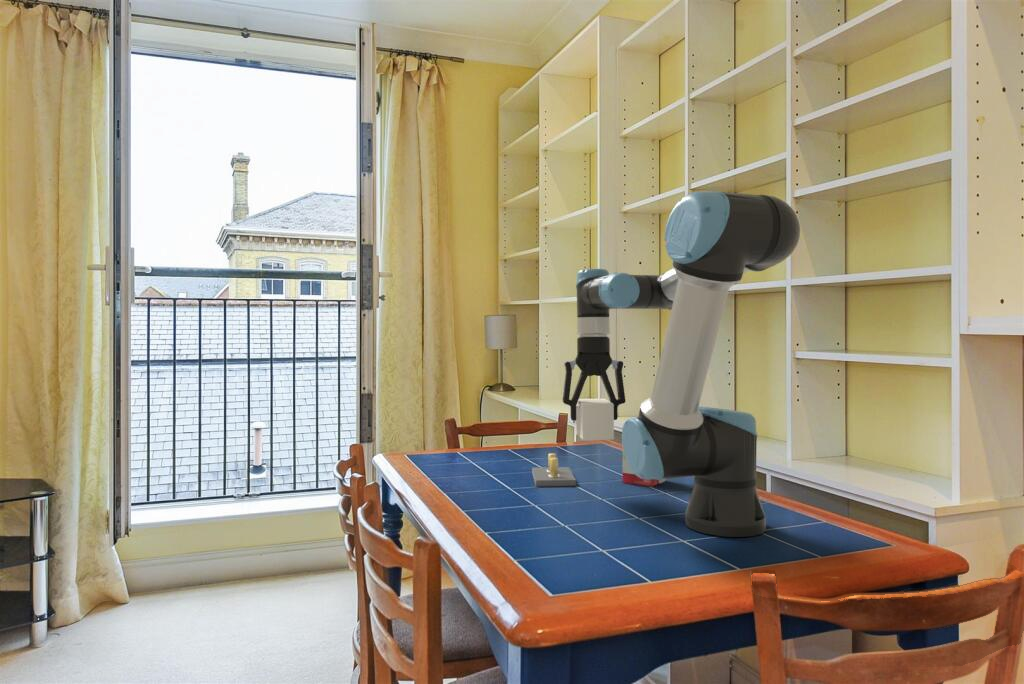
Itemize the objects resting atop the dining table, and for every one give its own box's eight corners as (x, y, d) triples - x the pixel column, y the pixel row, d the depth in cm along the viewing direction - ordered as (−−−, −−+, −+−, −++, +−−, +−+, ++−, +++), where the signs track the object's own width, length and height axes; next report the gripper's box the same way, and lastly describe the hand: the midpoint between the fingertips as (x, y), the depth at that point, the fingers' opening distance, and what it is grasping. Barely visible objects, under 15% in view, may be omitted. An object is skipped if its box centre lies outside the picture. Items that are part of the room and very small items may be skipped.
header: (576, 486, 169) (575, 461, 169) (535, 486, 169) (535, 462, 168) (568, 472, 185) (568, 450, 185) (532, 473, 185) (532, 451, 184)
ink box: (652, 487, 167) (652, 439, 167) (621, 482, 172) (621, 436, 172) (667, 481, 174) (667, 434, 174) (636, 476, 179) (636, 432, 179)
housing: (613, 439, 152) (613, 403, 152) (582, 439, 152) (582, 404, 152) (604, 431, 165) (604, 398, 165) (575, 431, 165) (575, 398, 165)
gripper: (632, 335, 162) (633, 431, 162) (549, 336, 162) (550, 432, 162) (639, 335, 155) (640, 436, 155) (552, 336, 154) (552, 437, 154)
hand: (594, 434), depth 158 cm, fingers closed on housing, 7 cm apart
